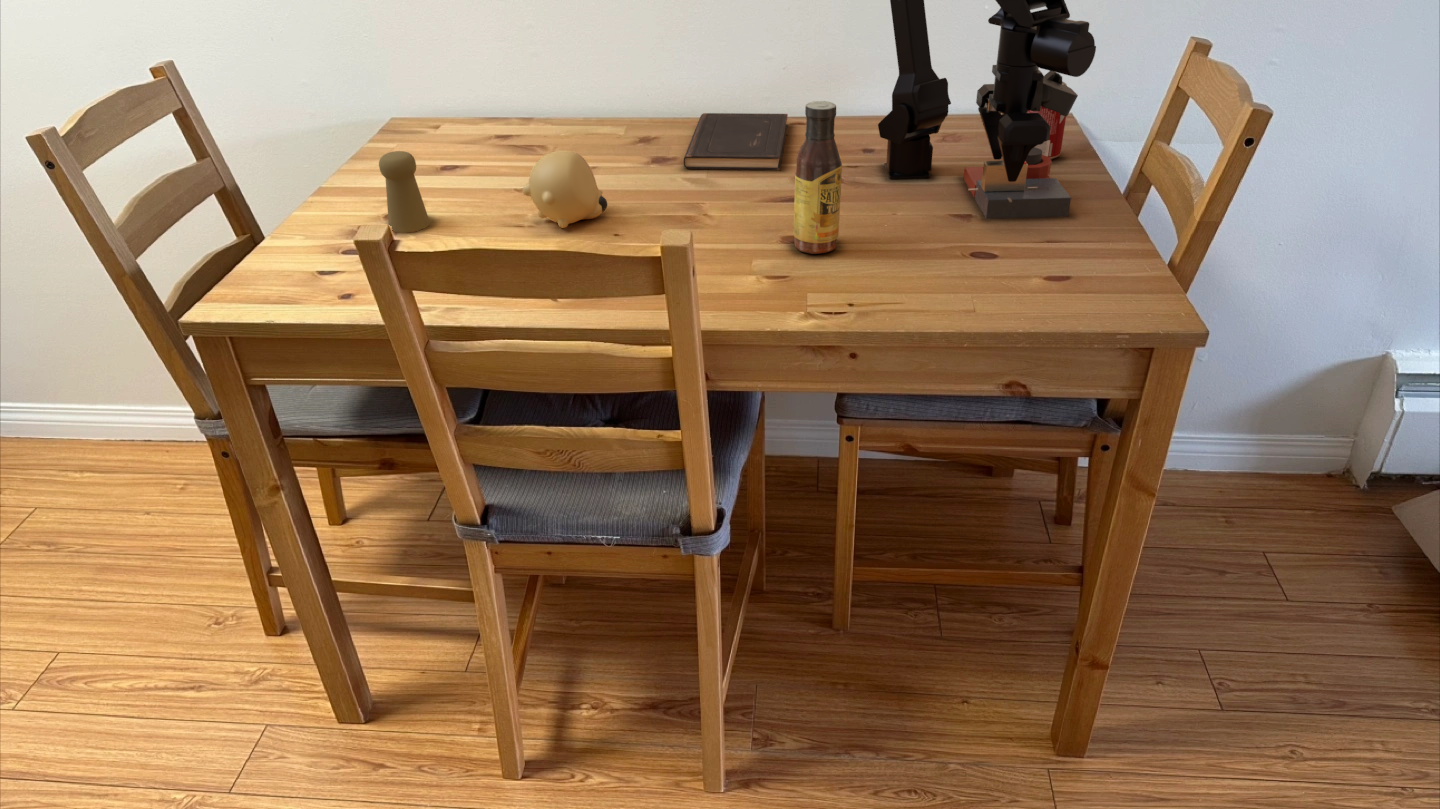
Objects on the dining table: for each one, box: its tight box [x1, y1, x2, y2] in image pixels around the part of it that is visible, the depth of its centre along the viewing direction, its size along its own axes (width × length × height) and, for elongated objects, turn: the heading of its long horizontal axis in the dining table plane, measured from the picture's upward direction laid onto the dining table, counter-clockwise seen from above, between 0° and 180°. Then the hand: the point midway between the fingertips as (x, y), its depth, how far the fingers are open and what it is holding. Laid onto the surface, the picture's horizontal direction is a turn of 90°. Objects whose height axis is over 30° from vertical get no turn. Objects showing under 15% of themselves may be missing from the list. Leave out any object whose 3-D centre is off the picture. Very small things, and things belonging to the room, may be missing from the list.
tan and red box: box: [981, 160, 1028, 192], centre depth 155 cm, size 6×2×4 cm, turn 90°
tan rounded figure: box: [522, 149, 608, 229], centre depth 156 cm, size 10×12×11 cm
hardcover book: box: [682, 112, 789, 171], centre depth 184 cm, size 16×23×2 cm
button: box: [1025, 147, 1042, 165], centre depth 164 cm, size 4×4×2 cm
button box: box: [962, 155, 1053, 198], centre depth 164 cm, size 12×8×4 cm
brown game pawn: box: [378, 150, 431, 234], centre depth 156 cm, size 6×6×11 cm
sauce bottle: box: [793, 100, 843, 255], centre depth 143 cm, size 7×6×20 cm
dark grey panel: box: [967, 177, 1072, 220], centre depth 157 cm, size 14×10×3 cm
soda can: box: [1027, 80, 1068, 161], centre depth 173 cm, size 7×7×12 cm
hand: (1004, 170), depth 155 cm, fingers open, 9 cm apart
